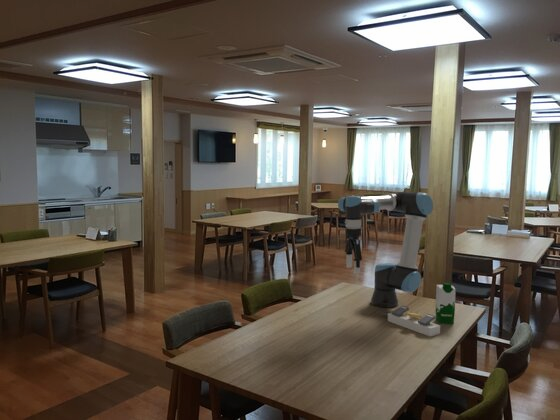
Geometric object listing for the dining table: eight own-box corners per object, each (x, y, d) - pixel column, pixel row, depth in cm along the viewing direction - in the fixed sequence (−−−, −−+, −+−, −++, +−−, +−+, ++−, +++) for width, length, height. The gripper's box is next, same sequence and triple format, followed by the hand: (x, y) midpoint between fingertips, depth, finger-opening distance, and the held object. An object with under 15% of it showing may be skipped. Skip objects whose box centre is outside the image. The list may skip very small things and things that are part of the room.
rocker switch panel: (385, 314, 247) (385, 305, 246) (439, 333, 219) (440, 323, 218) (376, 316, 243) (376, 307, 242) (430, 336, 215) (430, 325, 214)
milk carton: (437, 323, 233) (439, 284, 231) (433, 318, 241) (435, 280, 240) (455, 324, 232) (457, 285, 230) (451, 318, 241) (452, 280, 239)
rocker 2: (414, 315, 231) (415, 313, 231) (421, 318, 228) (422, 315, 228) (404, 314, 226) (405, 311, 226) (410, 316, 223) (411, 313, 223)
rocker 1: (402, 307, 237) (402, 305, 237) (409, 309, 234) (408, 307, 234) (392, 314, 233) (391, 311, 233) (398, 316, 230) (398, 313, 230)
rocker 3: (428, 316, 224) (428, 313, 224) (435, 318, 221) (435, 315, 221) (418, 323, 220) (417, 320, 220) (424, 325, 217) (424, 322, 217)
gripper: (339, 224, 239) (339, 265, 241) (353, 231, 214) (353, 277, 217) (353, 224, 240) (353, 264, 242) (369, 231, 215) (368, 276, 218)
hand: (353, 270), depth 229 cm, fingers open, 13 cm apart
